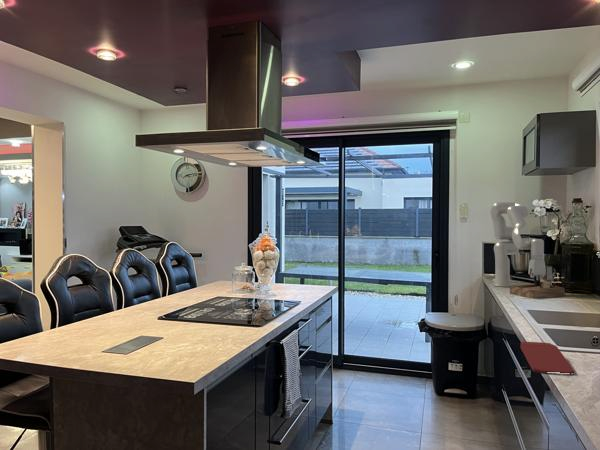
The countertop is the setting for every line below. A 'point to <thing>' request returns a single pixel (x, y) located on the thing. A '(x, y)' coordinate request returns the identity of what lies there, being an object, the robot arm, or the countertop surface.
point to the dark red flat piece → (545, 358)
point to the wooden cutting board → (536, 291)
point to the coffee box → (548, 274)
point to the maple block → (544, 284)
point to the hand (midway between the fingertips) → (537, 286)
